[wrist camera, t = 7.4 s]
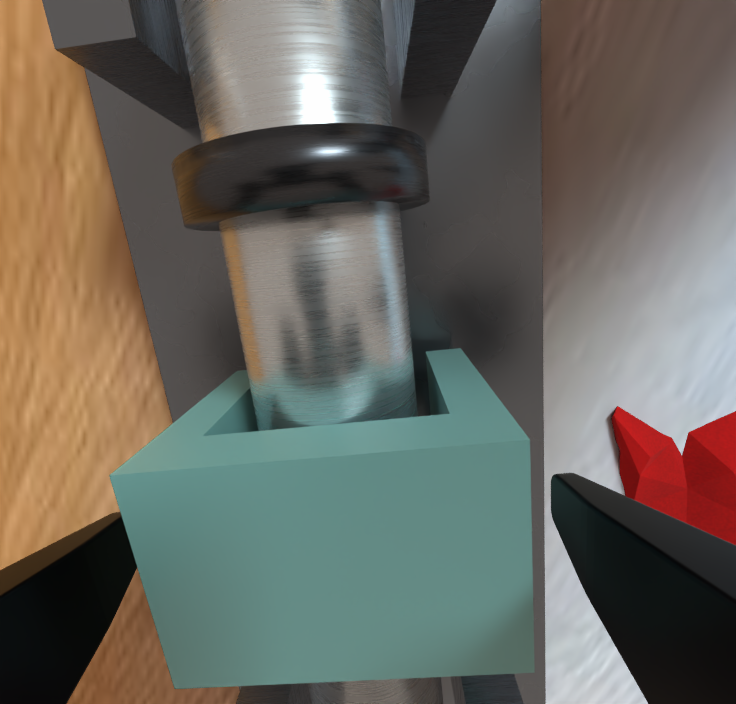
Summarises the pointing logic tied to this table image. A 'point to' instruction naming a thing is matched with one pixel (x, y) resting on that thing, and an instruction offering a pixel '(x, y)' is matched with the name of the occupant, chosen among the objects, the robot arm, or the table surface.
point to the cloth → (682, 472)
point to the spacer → (337, 540)
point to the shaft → (308, 220)
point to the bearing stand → (418, 225)
